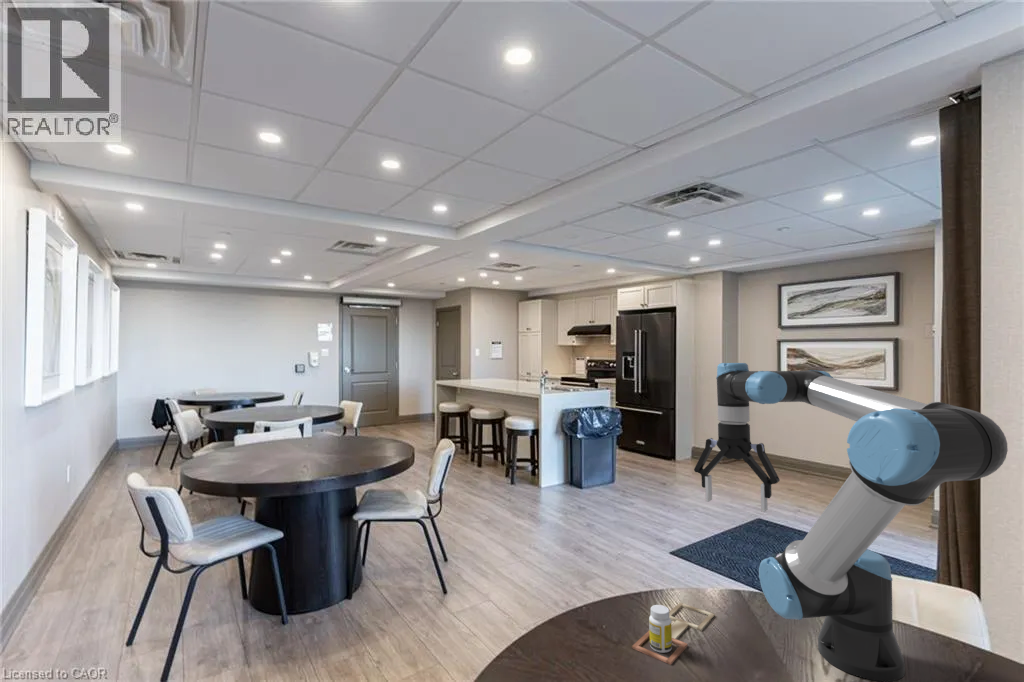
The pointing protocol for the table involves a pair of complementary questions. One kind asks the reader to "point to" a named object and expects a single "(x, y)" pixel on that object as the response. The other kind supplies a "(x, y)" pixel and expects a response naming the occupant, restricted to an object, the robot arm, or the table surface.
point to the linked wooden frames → (675, 633)
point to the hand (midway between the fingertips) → (735, 505)
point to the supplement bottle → (660, 629)
